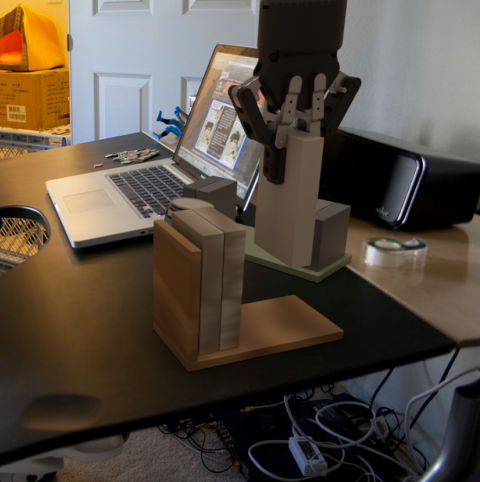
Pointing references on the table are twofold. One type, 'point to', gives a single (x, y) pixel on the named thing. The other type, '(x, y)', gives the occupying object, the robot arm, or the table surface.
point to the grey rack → (322, 259)
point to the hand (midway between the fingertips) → (287, 180)
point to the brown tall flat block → (290, 201)
